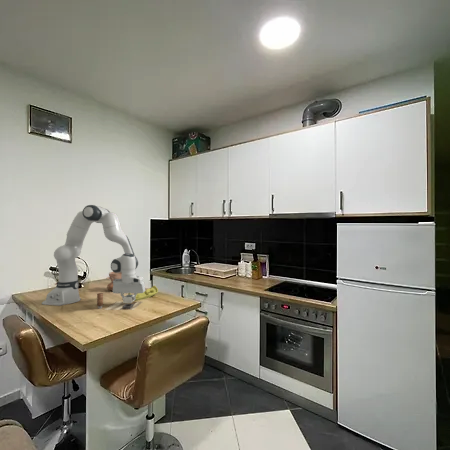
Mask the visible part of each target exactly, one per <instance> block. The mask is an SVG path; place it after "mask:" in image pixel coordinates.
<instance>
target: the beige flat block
mask: <svg viewBox="0 0 450 450" xmlns="http://www.w3.org/2000/svg"><path fill="white" fill-rule="evenodd" d="M142 303H143V301H133V302H132V303H123V301H115V302H113V303H112V304H110V305H109V306H107V307H106V308H104V309H103V310H104V311H105V310H106V311H109V310H110V311H113V310H114V311H117V310H118V311H134V310H135V309H137V308H138V306H140V305H141V304H142Z"/></svg>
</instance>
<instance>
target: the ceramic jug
mask: <svg viewBox="0 0 450 450" xmlns="http://www.w3.org/2000/svg"><path fill="white" fill-rule="evenodd" d="M121 275H122V273H121V272H120V273H115V272H113V271H110V272H109V273H108V277H106V280H110V283H108V284H107V286H106V288H107V290H109V291H112V292H113V280H115V279H122V277H121Z"/></svg>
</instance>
